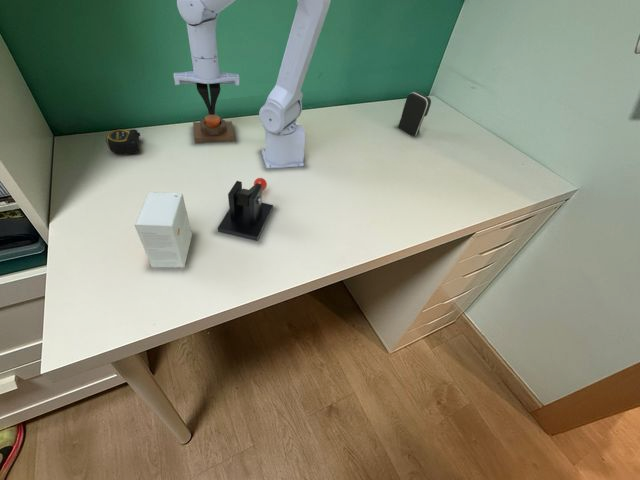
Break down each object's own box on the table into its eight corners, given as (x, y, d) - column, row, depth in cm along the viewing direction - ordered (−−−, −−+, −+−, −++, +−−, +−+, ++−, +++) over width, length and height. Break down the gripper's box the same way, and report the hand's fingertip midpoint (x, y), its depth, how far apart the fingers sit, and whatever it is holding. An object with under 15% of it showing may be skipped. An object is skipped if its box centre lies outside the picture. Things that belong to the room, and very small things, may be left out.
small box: (162, 234, 62) (147, 190, 54) (193, 235, 62) (183, 192, 55) (150, 268, 56) (132, 224, 48) (184, 268, 57) (172, 225, 49)
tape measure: (141, 156, 77) (137, 142, 74) (108, 158, 75) (102, 144, 72) (142, 141, 81) (138, 127, 79) (111, 142, 79) (106, 128, 77)
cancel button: (219, 120, 87) (219, 114, 86) (220, 127, 84) (220, 121, 83) (205, 121, 86) (204, 114, 85) (206, 127, 83) (205, 121, 82)
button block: (232, 127, 91) (231, 115, 89) (235, 142, 86) (234, 129, 84) (194, 128, 89) (192, 115, 86) (195, 143, 83) (193, 131, 81)
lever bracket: (237, 200, 71) (234, 170, 65) (273, 209, 70) (273, 179, 64) (218, 232, 64) (213, 201, 58) (257, 241, 63) (256, 211, 58)
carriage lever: (255, 187, 73) (256, 175, 71) (267, 189, 72) (269, 177, 71) (235, 205, 62) (236, 191, 61) (249, 208, 62) (250, 194, 61)
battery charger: (421, 134, 102) (435, 98, 94) (414, 137, 100) (427, 100, 92) (404, 124, 105) (415, 88, 97) (396, 127, 103) (408, 91, 95)
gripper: (235, 49, 78) (238, 105, 87) (169, 46, 74) (181, 105, 83) (239, 60, 73) (242, 118, 83) (169, 58, 69) (181, 119, 79)
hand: (211, 112), depth 83 cm, fingers closed
